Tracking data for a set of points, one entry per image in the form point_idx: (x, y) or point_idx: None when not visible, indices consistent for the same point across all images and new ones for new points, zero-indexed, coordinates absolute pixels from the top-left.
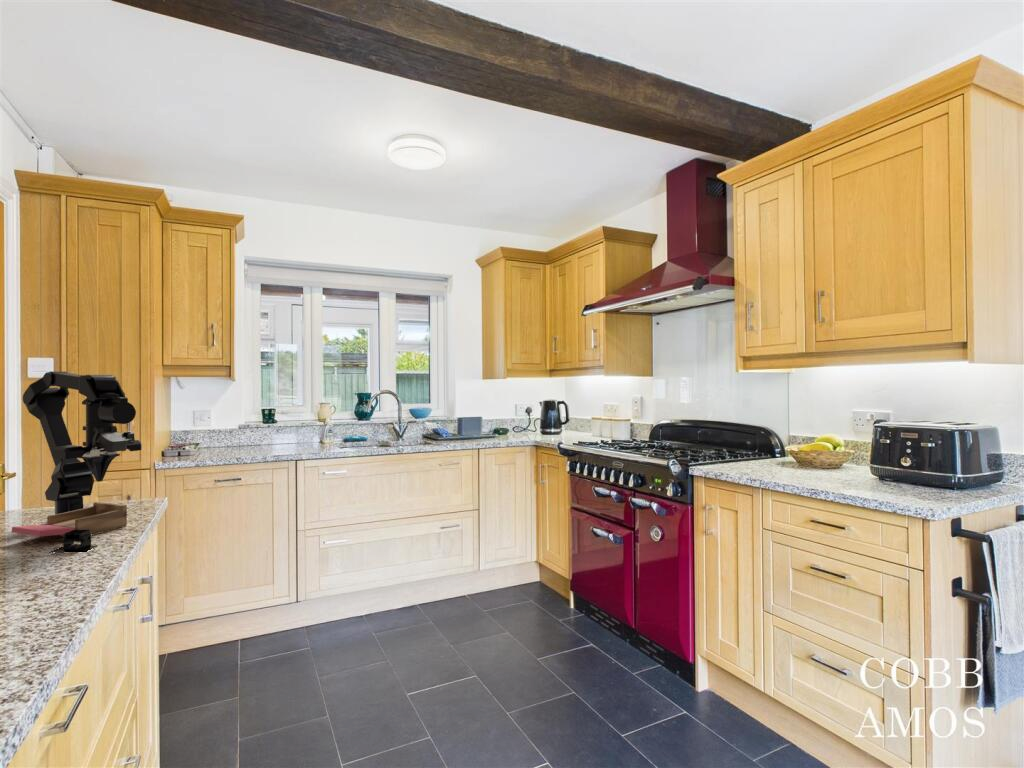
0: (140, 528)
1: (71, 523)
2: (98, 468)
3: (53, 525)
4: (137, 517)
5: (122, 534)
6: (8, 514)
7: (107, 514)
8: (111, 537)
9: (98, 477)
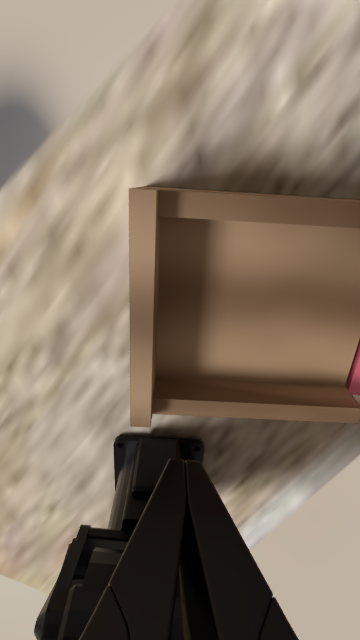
0: (156, 54)
1: (318, 322)
2: (260, 619)
3: (358, 360)
4: (20, 283)
5: (278, 36)
6: None
7: (257, 195)
8: (338, 41)
9: (217, 493)
